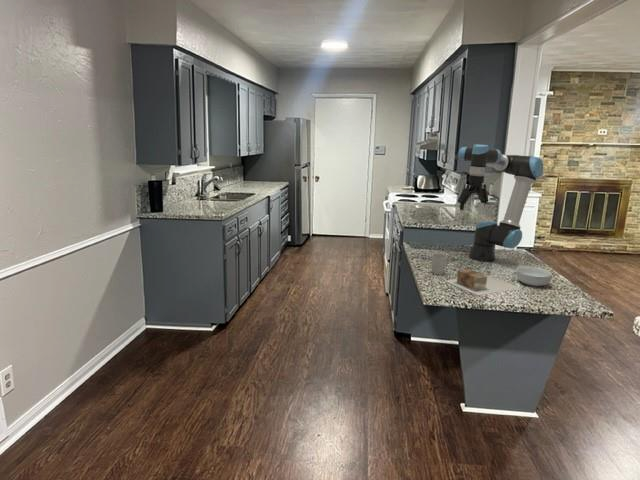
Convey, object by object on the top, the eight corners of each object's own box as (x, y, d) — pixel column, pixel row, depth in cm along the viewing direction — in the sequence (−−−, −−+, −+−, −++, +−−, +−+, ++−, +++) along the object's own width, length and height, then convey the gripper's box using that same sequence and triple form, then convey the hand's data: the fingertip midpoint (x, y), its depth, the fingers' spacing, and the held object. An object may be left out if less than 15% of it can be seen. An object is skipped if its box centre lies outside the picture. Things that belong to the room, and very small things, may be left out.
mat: (484, 275, 242) (484, 274, 242) (520, 288, 223) (520, 287, 223) (444, 281, 227) (444, 280, 227) (478, 296, 209) (478, 295, 209)
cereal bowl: (516, 276, 242) (518, 264, 240) (550, 283, 234) (553, 270, 232) (512, 285, 228) (514, 271, 226) (548, 292, 220) (551, 278, 218)
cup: (445, 272, 242) (448, 255, 239) (444, 277, 234) (447, 258, 232) (430, 270, 244) (432, 252, 242) (428, 274, 237) (431, 256, 234)
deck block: (456, 282, 225) (458, 270, 223) (466, 281, 228) (468, 269, 226) (475, 290, 215) (477, 278, 213) (485, 289, 218) (487, 276, 216)
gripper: (465, 175, 221) (459, 218, 226) (499, 175, 234) (493, 215, 239) (453, 174, 228) (448, 215, 233) (487, 174, 240) (481, 213, 245)
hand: (471, 215), depth 236 cm, fingers open, 13 cm apart
